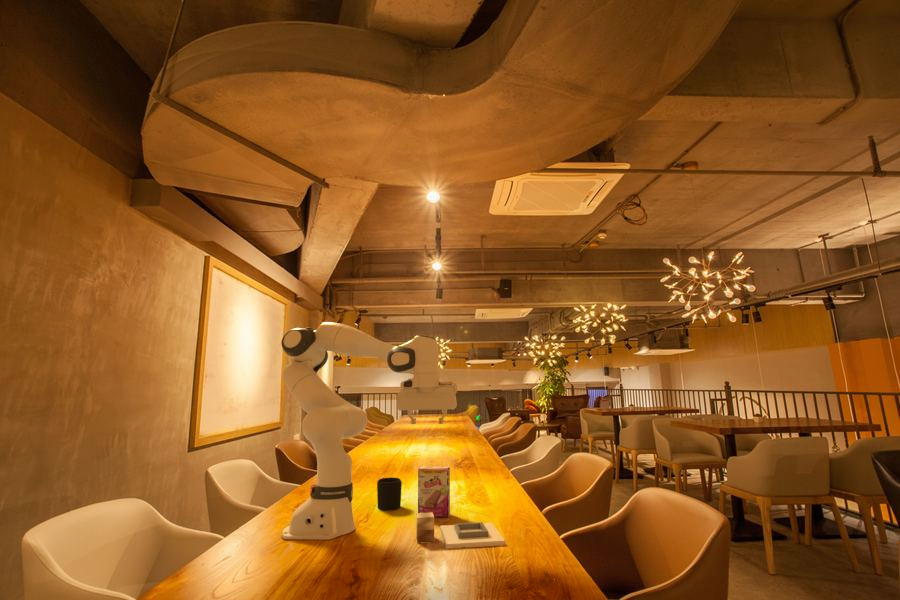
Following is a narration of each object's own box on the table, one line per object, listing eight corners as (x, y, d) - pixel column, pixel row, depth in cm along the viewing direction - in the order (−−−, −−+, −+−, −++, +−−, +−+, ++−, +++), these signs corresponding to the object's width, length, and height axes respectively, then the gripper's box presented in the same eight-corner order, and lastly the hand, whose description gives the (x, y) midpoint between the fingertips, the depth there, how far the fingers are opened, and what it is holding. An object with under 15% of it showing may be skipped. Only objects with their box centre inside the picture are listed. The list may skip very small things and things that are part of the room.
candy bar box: (417, 517, 155) (417, 468, 158) (419, 513, 160) (419, 466, 163) (449, 518, 154) (448, 468, 157) (450, 514, 159) (449, 466, 162)
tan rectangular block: (417, 543, 130) (417, 517, 131) (416, 537, 135) (416, 513, 136) (434, 542, 131) (434, 516, 132) (432, 536, 136) (432, 512, 137)
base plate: (446, 548, 125) (446, 538, 126) (440, 529, 142) (440, 520, 142) (505, 545, 127) (504, 535, 128) (491, 526, 144) (491, 517, 145)
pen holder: (406, 506, 170) (406, 478, 172) (390, 512, 162) (391, 483, 164) (387, 503, 175) (387, 476, 177) (371, 508, 167) (372, 481, 169)
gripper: (457, 381, 153) (458, 422, 151) (399, 382, 155) (400, 423, 153) (455, 381, 147) (457, 424, 145) (395, 383, 149) (396, 425, 147)
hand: (427, 423), depth 149 cm, fingers open, 8 cm apart
